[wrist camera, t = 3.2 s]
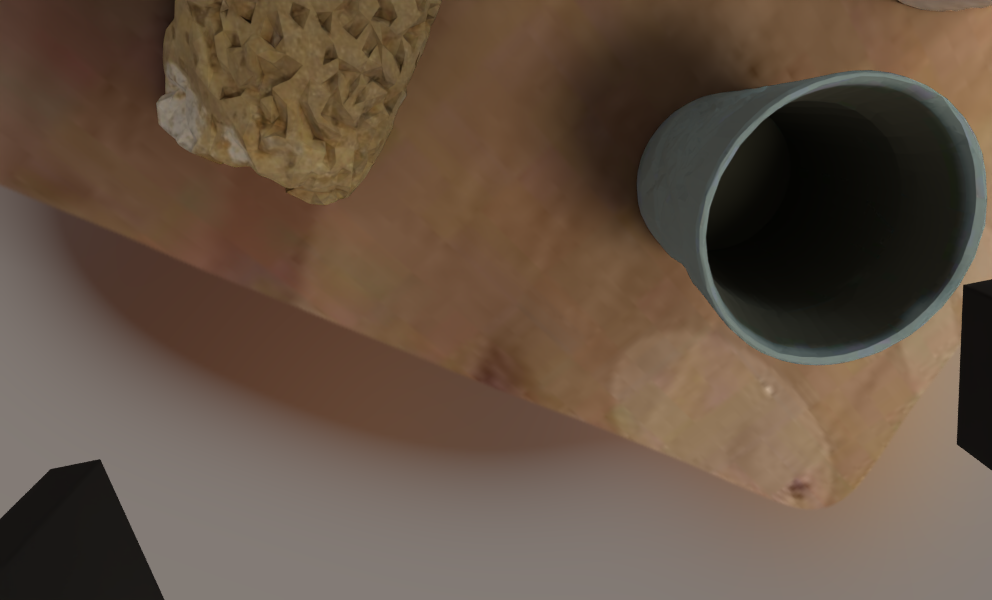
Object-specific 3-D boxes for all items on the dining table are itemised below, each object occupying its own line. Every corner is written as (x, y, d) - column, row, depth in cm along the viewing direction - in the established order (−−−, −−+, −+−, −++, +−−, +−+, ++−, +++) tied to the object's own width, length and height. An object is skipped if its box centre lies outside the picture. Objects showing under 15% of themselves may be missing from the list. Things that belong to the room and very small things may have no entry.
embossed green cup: (738, 303, 36) (868, 408, 25) (579, 219, 34) (642, 292, 23) (851, 133, 34) (1053, 164, 22) (686, 31, 32) (817, 9, 20)
